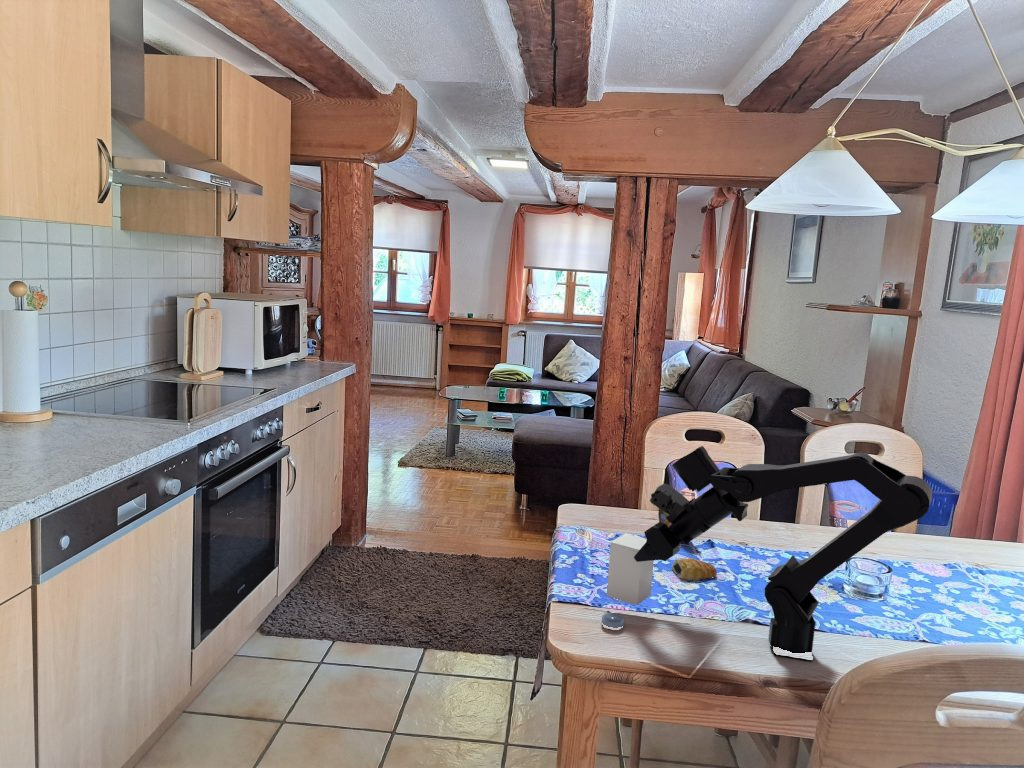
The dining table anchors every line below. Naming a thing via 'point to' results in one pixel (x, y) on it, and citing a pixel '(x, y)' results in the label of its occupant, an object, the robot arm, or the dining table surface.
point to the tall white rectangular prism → (628, 570)
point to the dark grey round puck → (612, 620)
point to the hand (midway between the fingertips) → (645, 552)
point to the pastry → (693, 569)
